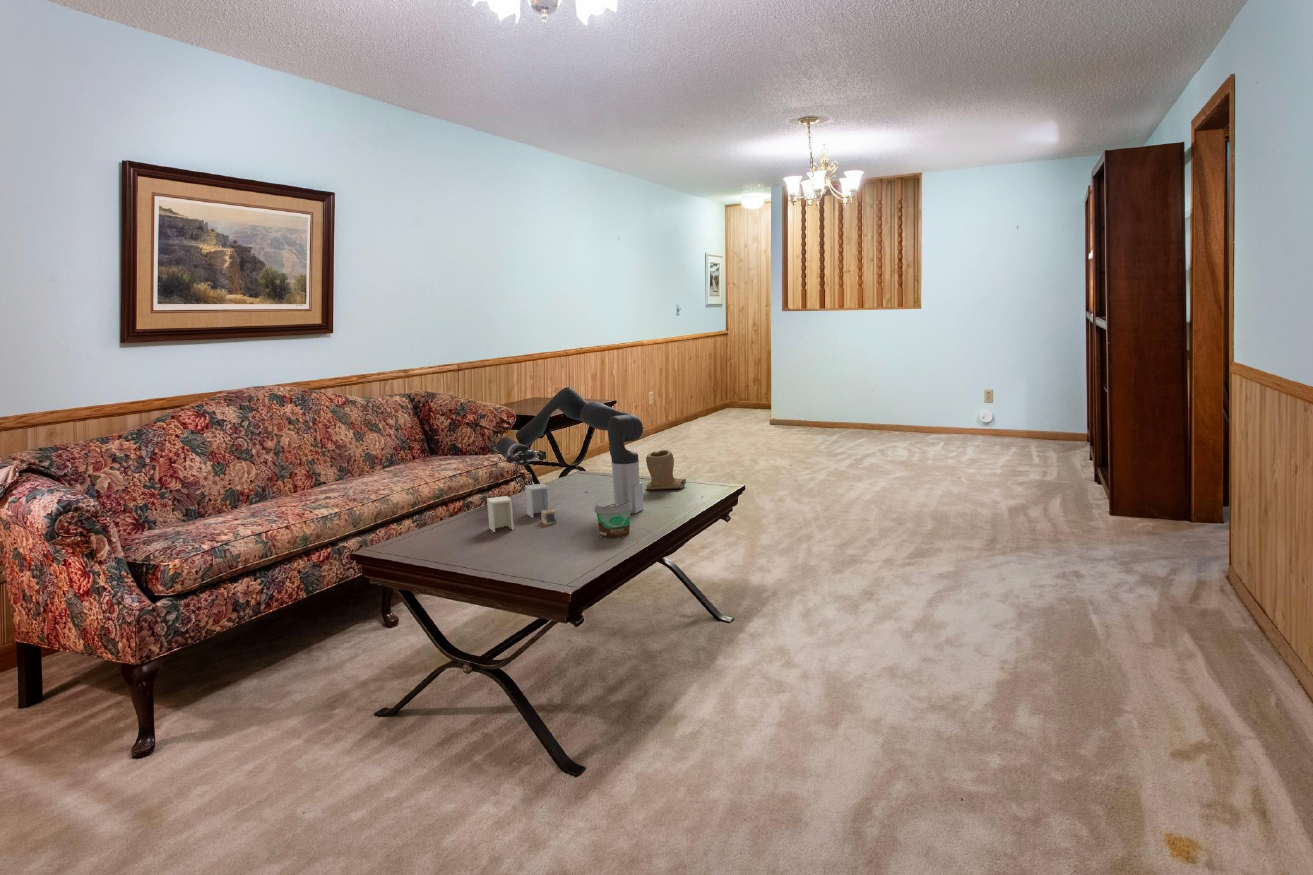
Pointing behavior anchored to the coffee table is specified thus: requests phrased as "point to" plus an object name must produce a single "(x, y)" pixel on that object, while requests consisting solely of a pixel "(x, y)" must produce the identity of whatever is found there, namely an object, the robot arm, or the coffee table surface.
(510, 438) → the robot arm
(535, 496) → the cover
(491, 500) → the cover
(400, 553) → the coffee table surface
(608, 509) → the food container
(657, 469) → the brown boot-shaped piece
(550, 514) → the letter cube
